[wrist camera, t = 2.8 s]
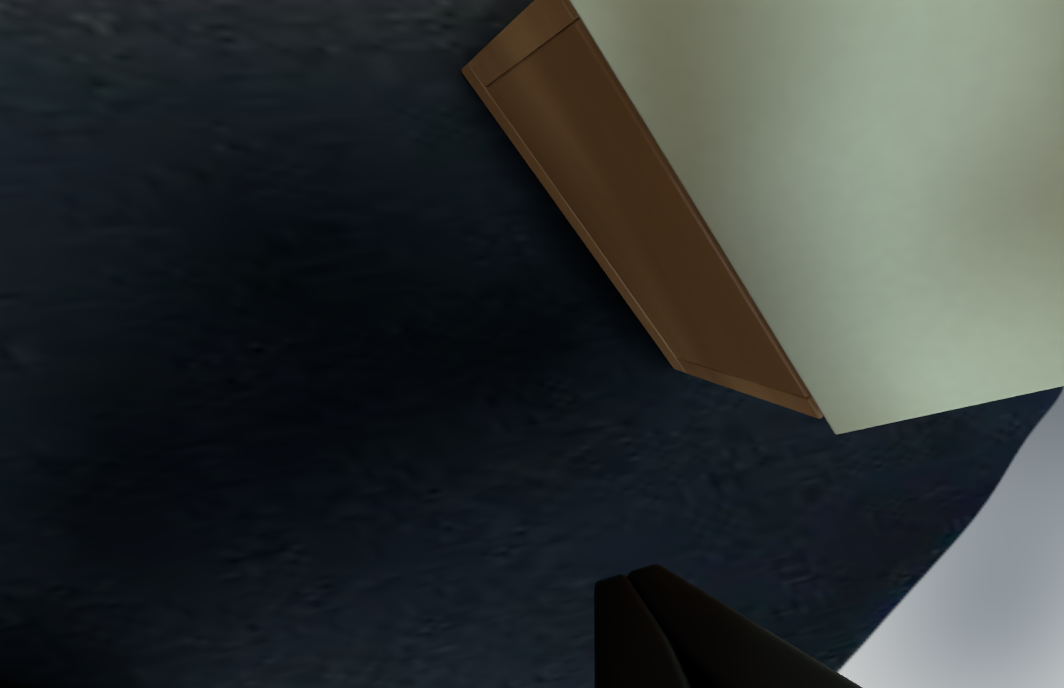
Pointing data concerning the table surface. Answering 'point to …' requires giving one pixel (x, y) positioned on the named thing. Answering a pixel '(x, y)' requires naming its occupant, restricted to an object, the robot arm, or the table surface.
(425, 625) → the table surface
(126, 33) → the table surface
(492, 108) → the keepsake box
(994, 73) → the box lid
